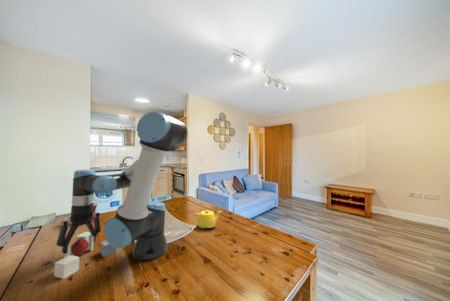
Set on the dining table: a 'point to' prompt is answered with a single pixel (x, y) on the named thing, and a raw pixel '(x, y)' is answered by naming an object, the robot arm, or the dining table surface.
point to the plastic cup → (93, 210)
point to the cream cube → (66, 266)
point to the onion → (79, 246)
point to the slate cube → (106, 249)
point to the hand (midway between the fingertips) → (79, 254)
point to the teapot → (207, 219)
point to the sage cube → (84, 236)
